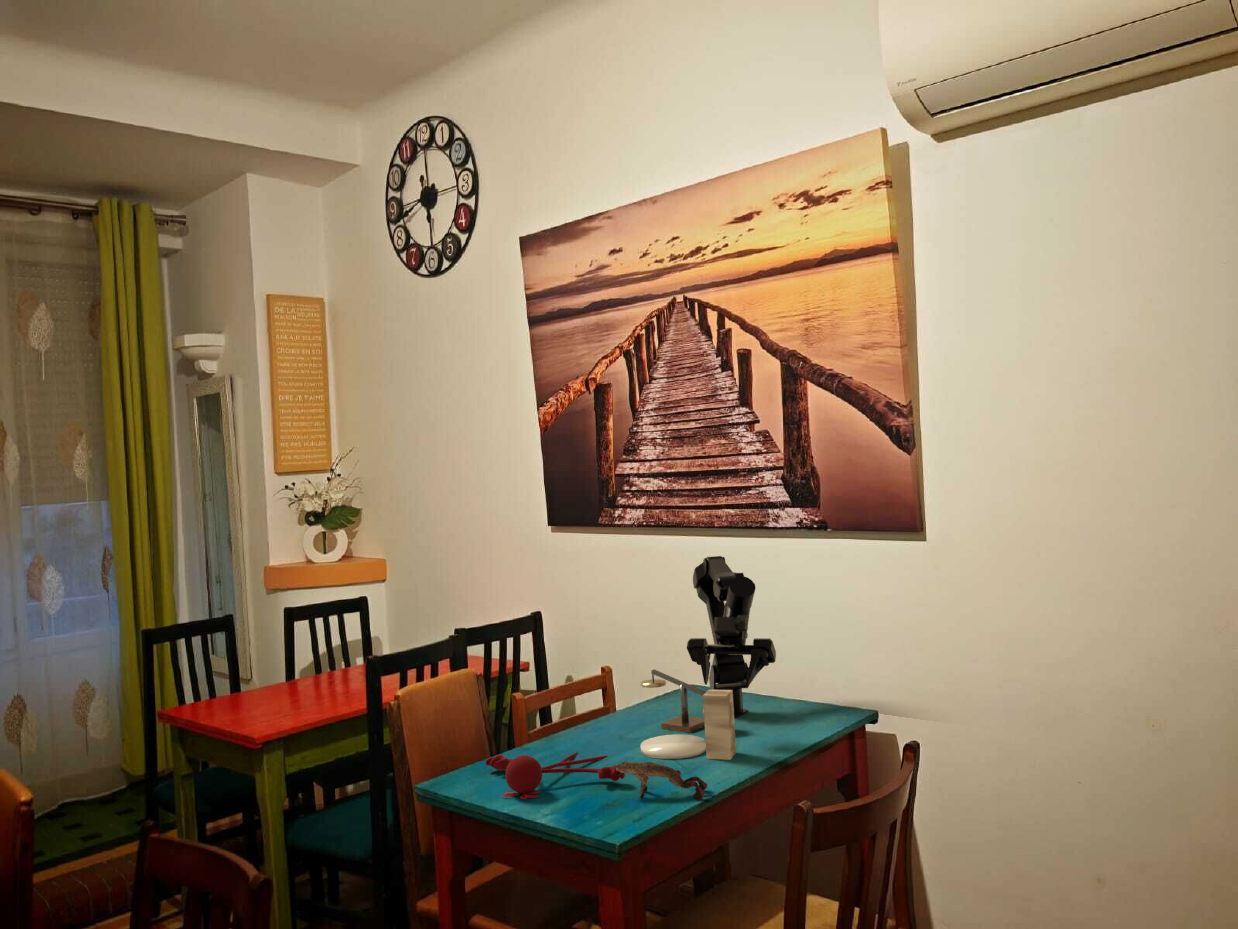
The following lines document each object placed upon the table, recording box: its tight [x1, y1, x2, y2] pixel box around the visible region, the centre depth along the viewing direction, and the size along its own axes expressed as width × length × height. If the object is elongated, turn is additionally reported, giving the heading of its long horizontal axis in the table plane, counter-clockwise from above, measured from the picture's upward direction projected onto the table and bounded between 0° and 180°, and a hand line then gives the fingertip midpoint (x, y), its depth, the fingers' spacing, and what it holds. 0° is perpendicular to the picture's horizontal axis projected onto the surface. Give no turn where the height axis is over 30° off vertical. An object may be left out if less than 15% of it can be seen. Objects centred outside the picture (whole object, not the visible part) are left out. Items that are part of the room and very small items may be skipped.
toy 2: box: [616, 761, 708, 801], centre depth 189 cm, size 6×9×16 cm
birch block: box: [702, 689, 737, 761], centre depth 211 cm, size 5×5×13 cm
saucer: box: [640, 734, 706, 760], centre depth 217 cm, size 14×14×1 cm
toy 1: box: [484, 751, 626, 800], centre depth 204 cm, size 32×8×30 cm
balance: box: [640, 669, 707, 734], centre depth 235 cm, size 8×23×12 cm, turn 50°
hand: (726, 684), depth 218 cm, fingers open, 9 cm apart
